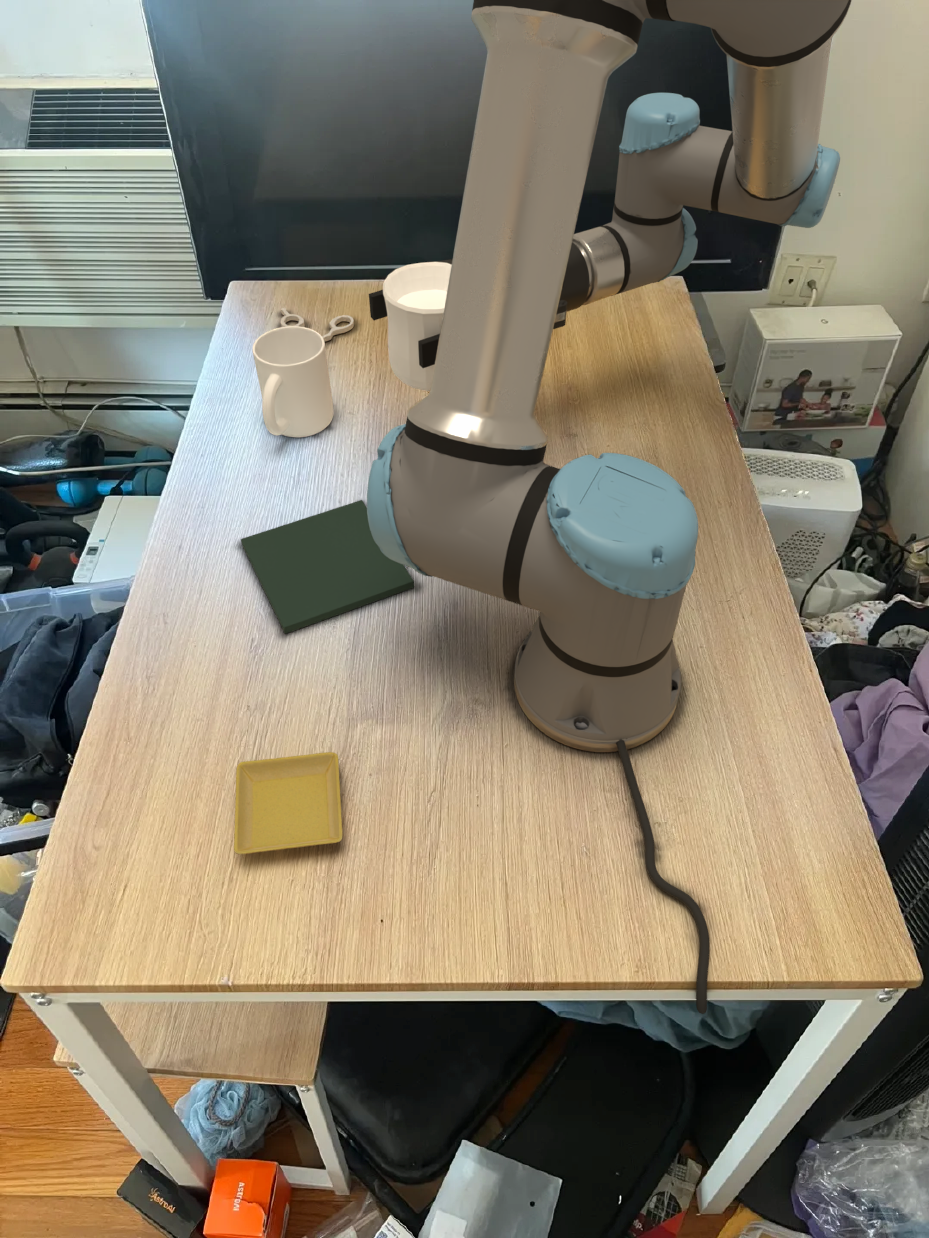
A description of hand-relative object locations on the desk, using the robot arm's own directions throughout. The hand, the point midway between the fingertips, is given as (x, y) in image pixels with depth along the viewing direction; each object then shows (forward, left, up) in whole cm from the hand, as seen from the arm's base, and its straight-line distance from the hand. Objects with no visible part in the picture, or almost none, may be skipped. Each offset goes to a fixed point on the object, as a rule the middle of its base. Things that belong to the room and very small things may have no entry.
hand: (395, 330), depth 93 cm
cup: (0, -4, -6) cm, 8 cm away
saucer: (-37, +27, -18) cm, 49 cm away
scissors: (+27, +2, -18) cm, 33 cm away
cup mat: (-11, +14, -18) cm, 25 cm away
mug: (+13, +9, -18) cm, 24 cm away
